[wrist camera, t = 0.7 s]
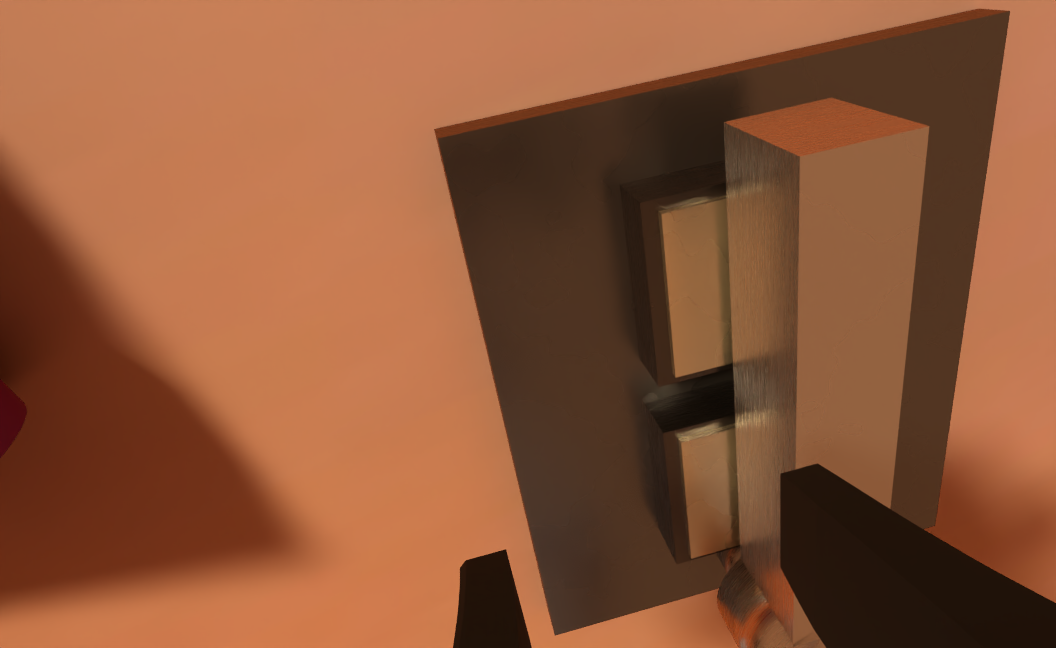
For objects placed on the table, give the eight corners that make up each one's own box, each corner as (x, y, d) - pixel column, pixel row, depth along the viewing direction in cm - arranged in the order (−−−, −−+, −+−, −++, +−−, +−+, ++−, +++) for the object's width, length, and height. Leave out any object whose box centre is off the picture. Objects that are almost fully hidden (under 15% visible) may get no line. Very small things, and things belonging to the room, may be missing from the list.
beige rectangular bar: (836, 609, 23) (896, 693, 20) (719, 644, 22) (765, 734, 20) (866, 89, 15) (971, 116, 12) (687, 130, 14) (755, 167, 12)
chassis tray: (916, 506, 26) (970, 561, 23) (548, 611, 25) (567, 680, 22) (978, 8, 18) (1071, 15, 15) (434, 129, 16) (443, 156, 14)
